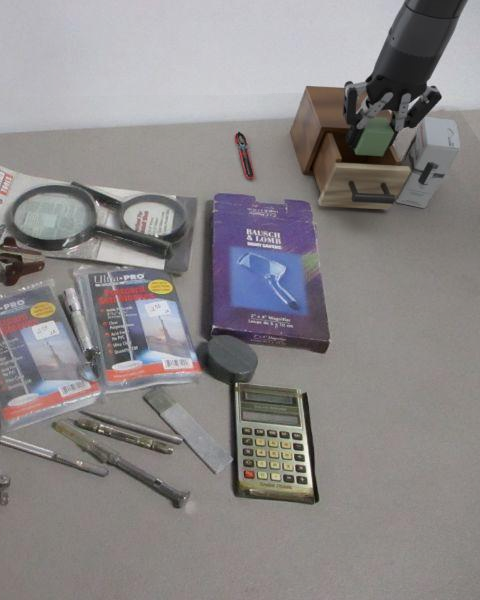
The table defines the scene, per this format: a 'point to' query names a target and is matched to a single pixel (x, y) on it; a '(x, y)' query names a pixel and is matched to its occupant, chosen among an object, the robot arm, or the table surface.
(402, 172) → the drawer
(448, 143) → the ink box
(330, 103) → the cabinet
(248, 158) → the red black pliers
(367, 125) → the block
